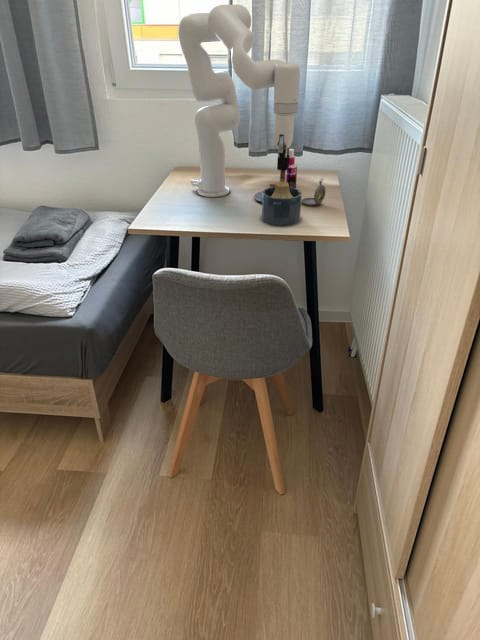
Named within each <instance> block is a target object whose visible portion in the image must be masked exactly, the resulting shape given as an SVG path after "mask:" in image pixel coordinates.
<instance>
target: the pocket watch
mask: <svg viewBox="0 0 480 640" xmlns="http://www.w3.org/2000/svg"><path fill="white" fill-rule="evenodd" d="M318 181H319V182H318V184H319V185H318V186H317V187H316V189H315V191H314V195H313V197H304V198H302V199H301V204H303V205H305V206H310V207H311V206H312V207H313V206H314V207H315V206H317V205H319V204H321V203H322V202H323V201H324V200H325V197H326V192H327V191H326V187H325V186H324V185H323V182H324V180H323V178H321V179H320V180H318Z"/></svg>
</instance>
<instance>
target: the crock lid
mask: <svg viewBox="0 0 480 640" xmlns="http://www.w3.org/2000/svg"><path fill="white" fill-rule="evenodd" d="M276 183H277V182H276V181H271V182H269V187H274V186H276ZM263 191H264V190H261V191H258V192H256V193H254V197H253V198H254V199H255V200H256V201H257V202H258V203H262V192H263Z"/></svg>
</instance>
